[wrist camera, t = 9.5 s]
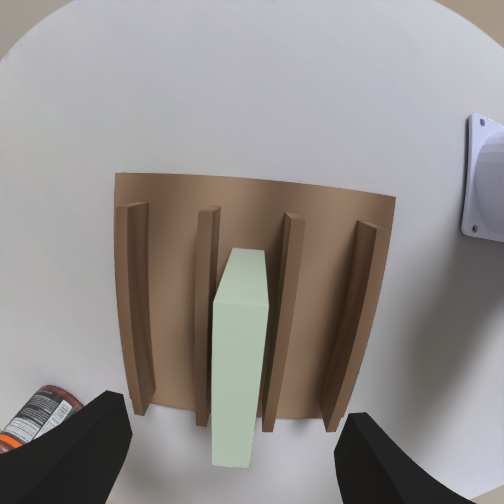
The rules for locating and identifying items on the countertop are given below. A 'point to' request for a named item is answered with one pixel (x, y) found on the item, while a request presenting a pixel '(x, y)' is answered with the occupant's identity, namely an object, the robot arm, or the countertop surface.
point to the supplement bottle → (38, 417)
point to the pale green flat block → (238, 355)
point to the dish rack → (278, 285)
